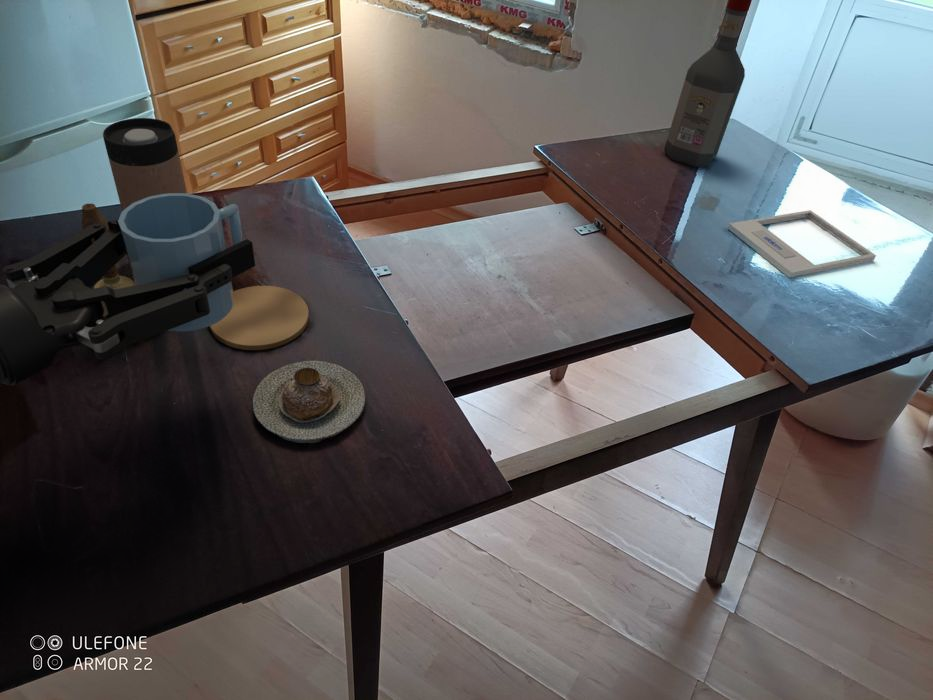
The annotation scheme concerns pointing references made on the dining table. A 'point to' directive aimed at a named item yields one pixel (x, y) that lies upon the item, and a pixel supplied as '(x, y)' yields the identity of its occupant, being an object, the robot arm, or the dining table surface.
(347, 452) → the dining table surface
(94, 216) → the hand bell
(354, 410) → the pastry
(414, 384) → the dining table surface
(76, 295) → the robot arm
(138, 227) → the mug
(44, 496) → the dining table surface
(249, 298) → the coaster
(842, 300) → the dining table surface
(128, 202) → the travel mug
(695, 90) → the liquor
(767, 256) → the photo frame
